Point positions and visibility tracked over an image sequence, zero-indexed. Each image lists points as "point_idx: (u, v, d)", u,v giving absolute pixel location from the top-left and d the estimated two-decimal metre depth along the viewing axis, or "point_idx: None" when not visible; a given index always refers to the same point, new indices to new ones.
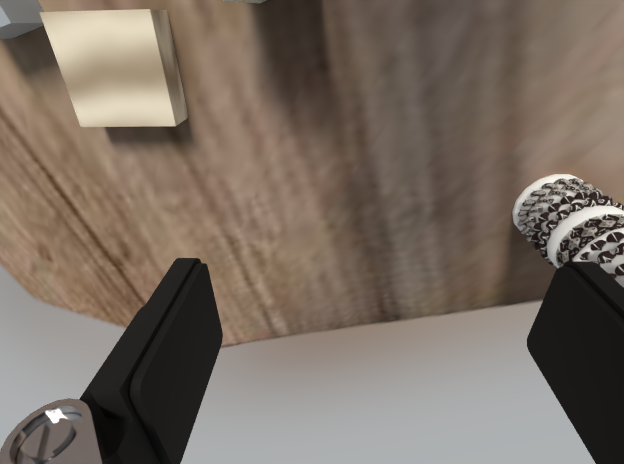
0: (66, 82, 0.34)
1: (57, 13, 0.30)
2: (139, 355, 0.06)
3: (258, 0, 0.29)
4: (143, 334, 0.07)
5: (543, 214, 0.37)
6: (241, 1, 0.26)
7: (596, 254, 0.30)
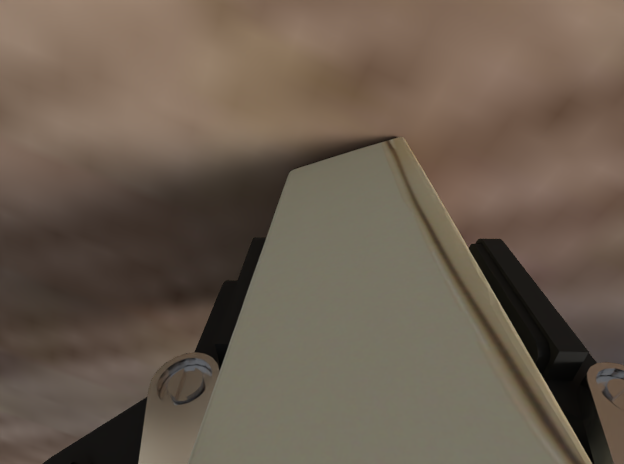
0: None
1: None
2: None
3: None
4: None
5: None
6: None
7: None
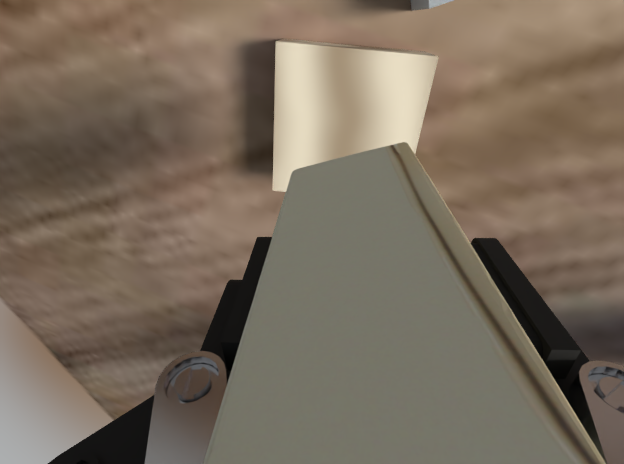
0: (344, 50, 0.21)
1: (429, 84, 0.22)
2: None
3: None
4: (251, 299, 0.08)
5: None
6: None
7: None
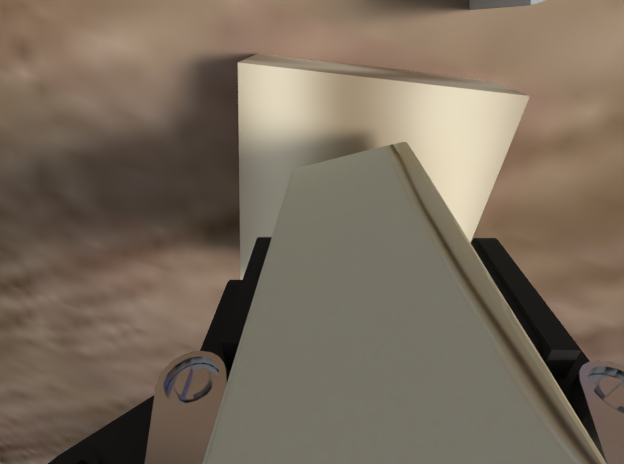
0: (361, 81, 0.12)
1: (507, 142, 0.13)
2: None
3: None
4: (251, 299, 0.07)
5: None
6: None
7: None
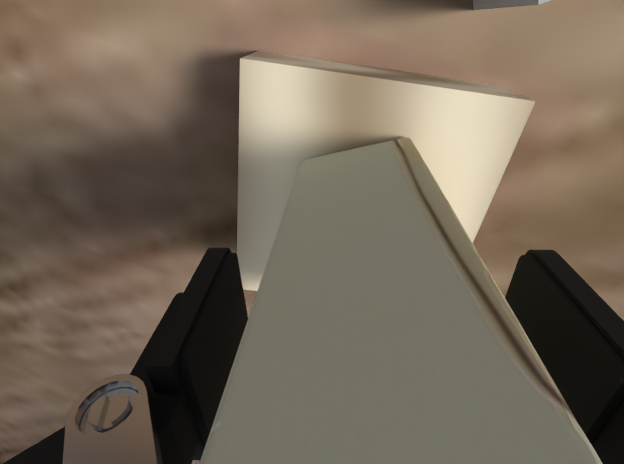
0: (366, 81, 0.12)
1: (511, 147, 0.12)
2: (186, 335, 0.07)
3: None
4: (187, 316, 0.07)
5: None
6: None
7: None
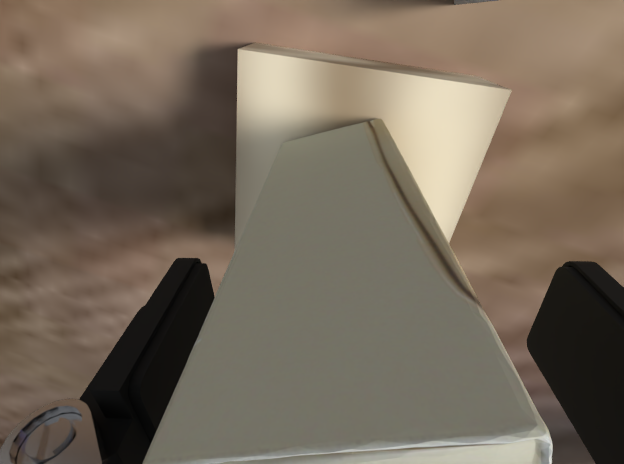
0: (355, 71, 0.13)
1: (490, 133, 0.13)
2: (140, 355, 0.06)
3: None
4: (143, 334, 0.07)
5: None
6: None
7: None
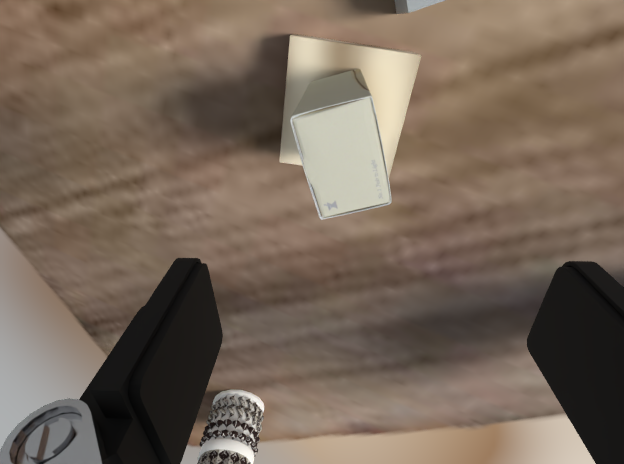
0: (345, 46, 0.26)
1: (413, 78, 0.27)
2: (139, 355, 0.06)
3: None
4: (143, 334, 0.07)
5: (238, 423, 0.51)
6: None
7: None
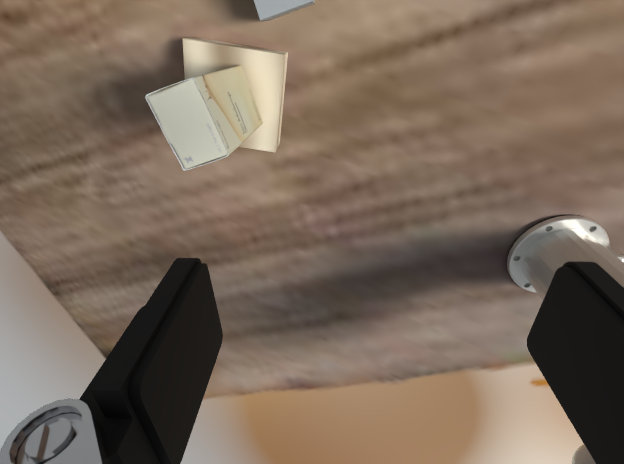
0: (225, 47, 0.34)
1: (281, 72, 0.35)
2: (139, 355, 0.06)
3: None
4: (143, 334, 0.07)
5: None
6: None
7: None
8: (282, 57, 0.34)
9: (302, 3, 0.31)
